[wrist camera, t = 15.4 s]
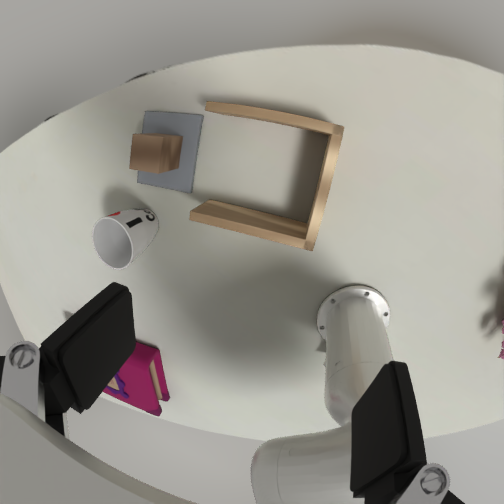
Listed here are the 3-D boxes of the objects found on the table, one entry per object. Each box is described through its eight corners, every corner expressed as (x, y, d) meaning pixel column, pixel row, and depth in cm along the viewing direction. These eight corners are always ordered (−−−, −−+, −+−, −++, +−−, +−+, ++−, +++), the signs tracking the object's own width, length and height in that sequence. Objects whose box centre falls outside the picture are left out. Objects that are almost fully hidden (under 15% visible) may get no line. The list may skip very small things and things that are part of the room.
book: (74, 313, 62) (56, 328, 56) (160, 345, 58) (144, 367, 51) (93, 366, 71) (80, 382, 64) (171, 399, 66) (159, 419, 59)
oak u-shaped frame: (313, 233, 40) (312, 251, 34) (208, 207, 42) (189, 219, 36) (339, 129, 34) (344, 126, 27) (224, 106, 36) (206, 101, 29)
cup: (169, 208, 44) (135, 227, 35) (163, 251, 47) (131, 277, 38) (130, 195, 44) (92, 210, 35) (126, 236, 48) (91, 258, 39)
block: (178, 168, 40) (158, 173, 35) (151, 163, 41) (129, 168, 35) (183, 136, 38) (163, 137, 33) (155, 133, 39) (132, 134, 33)
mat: (192, 192, 42) (190, 193, 41) (139, 182, 43) (137, 182, 42) (203, 115, 37) (201, 115, 36) (147, 111, 38) (145, 111, 37)
